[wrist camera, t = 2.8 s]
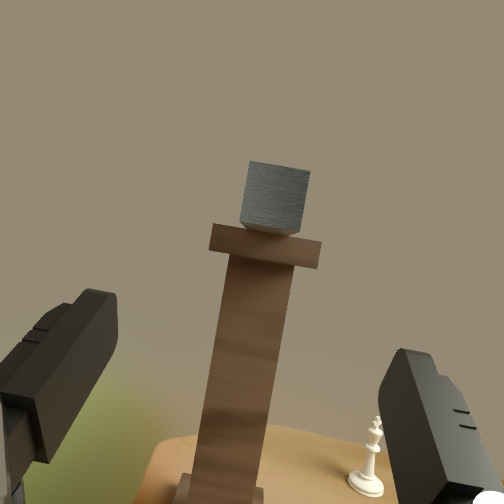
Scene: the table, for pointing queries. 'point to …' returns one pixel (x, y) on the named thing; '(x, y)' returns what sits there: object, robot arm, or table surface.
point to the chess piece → (368, 466)
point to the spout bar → (274, 198)
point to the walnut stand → (243, 363)
